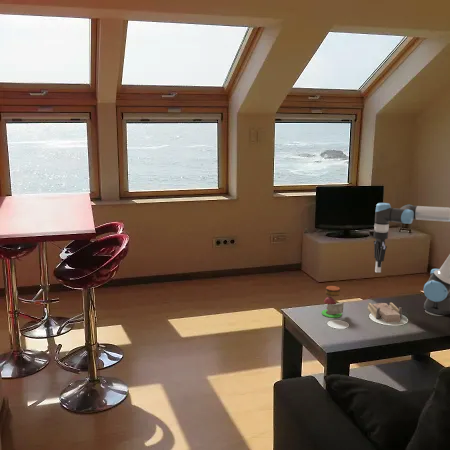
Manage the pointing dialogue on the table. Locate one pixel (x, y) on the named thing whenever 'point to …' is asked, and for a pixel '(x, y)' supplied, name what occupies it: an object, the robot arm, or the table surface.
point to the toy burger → (332, 303)
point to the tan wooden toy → (376, 312)
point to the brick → (387, 313)
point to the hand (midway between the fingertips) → (377, 272)
